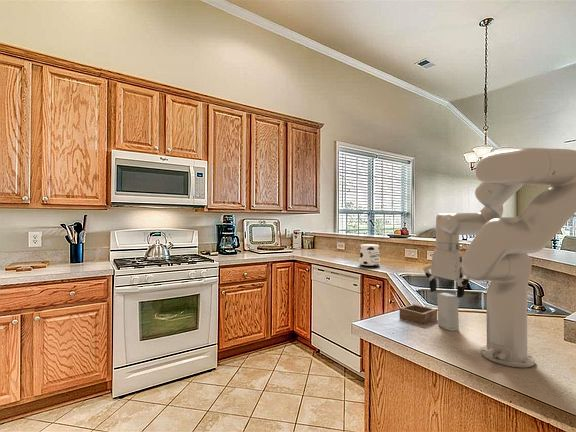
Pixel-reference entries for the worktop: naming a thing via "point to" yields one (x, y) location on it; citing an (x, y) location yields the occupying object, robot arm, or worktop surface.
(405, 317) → the brown wooden tray
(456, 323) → the skincare box
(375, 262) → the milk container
